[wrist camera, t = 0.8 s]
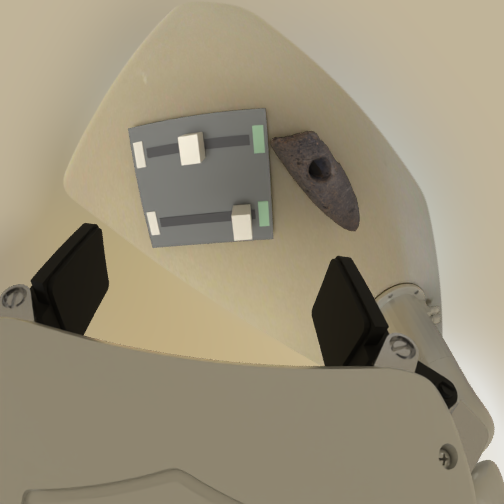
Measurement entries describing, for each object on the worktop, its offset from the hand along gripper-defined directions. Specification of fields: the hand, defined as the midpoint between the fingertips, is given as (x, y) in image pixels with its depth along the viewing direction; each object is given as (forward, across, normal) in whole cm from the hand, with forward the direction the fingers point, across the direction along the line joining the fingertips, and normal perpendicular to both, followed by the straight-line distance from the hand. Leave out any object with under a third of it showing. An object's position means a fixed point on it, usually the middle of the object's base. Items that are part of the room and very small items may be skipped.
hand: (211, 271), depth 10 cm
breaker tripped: (+22, +4, -1) cm, 22 cm away
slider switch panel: (+24, +3, +4) cm, 24 cm away
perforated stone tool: (+24, -11, +1) cm, 26 cm away
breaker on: (+21, -2, +7) cm, 22 cm away
